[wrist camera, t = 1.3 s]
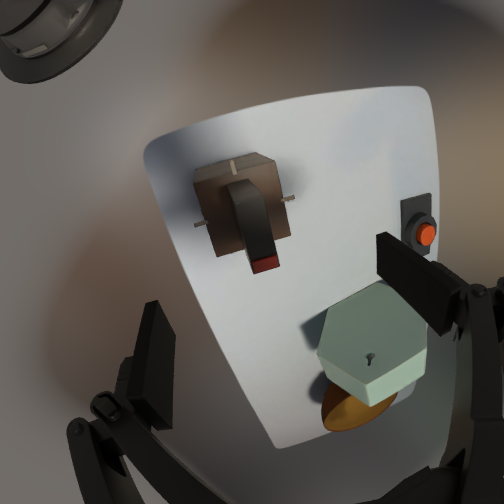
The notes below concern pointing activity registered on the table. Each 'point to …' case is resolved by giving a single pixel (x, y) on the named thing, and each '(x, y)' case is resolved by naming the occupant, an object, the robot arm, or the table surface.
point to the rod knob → (253, 225)
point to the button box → (416, 221)
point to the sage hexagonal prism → (373, 344)
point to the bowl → (348, 409)
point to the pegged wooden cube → (219, 206)
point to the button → (425, 234)
